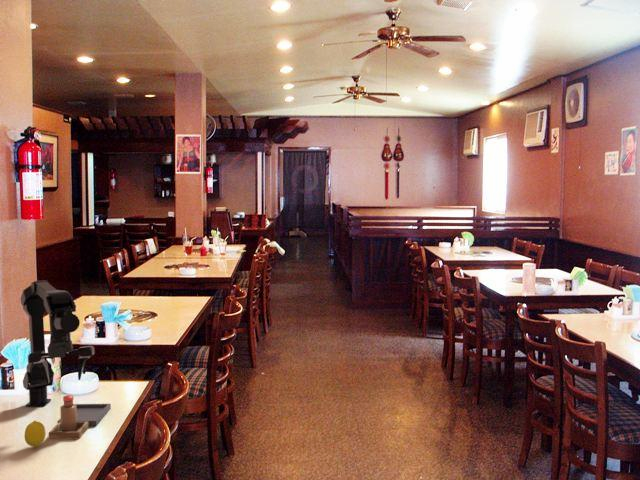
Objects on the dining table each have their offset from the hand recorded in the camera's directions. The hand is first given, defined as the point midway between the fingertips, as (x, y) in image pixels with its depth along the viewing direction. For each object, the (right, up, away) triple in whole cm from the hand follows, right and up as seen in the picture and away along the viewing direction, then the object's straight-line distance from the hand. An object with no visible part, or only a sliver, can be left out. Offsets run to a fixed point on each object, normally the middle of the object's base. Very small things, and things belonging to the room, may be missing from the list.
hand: (63, 381), depth 195 cm
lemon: (-2, -16, -14) cm, 22 cm away
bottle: (+3, -15, -3) cm, 16 cm away
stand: (+3, -15, -3) cm, 16 cm away
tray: (+3, -14, +10) cm, 17 cm away
